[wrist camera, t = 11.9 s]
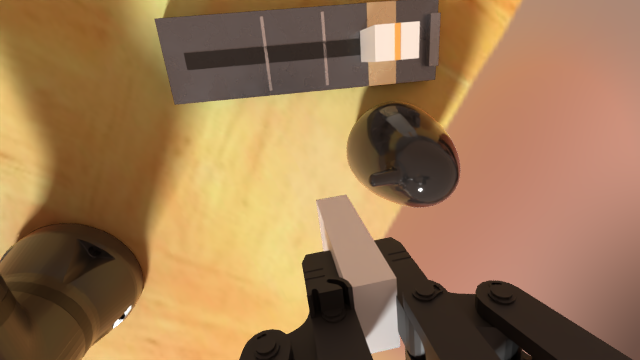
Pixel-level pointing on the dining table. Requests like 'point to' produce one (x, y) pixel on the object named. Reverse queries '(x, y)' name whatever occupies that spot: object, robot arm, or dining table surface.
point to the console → (290, 50)
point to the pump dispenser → (403, 155)
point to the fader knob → (390, 42)
